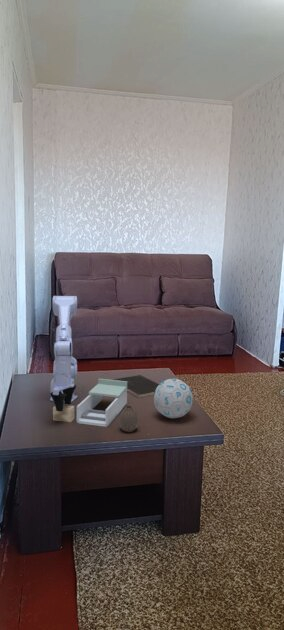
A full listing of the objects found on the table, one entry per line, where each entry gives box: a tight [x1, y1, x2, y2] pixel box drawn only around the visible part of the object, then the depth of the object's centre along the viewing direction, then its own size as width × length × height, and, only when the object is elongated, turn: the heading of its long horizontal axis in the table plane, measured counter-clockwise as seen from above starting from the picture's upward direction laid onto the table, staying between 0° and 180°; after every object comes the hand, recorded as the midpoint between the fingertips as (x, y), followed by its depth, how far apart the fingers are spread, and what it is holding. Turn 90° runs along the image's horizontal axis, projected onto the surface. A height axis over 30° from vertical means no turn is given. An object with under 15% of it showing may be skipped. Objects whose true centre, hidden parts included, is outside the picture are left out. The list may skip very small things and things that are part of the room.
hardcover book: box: [112, 374, 160, 398], centre depth 215 cm, size 16×23×2 cm
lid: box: [88, 378, 127, 398], centre depth 188 cm, size 12×12×3 cm
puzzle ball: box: [153, 378, 194, 419], centre depth 180 cm, size 15×15×15 cm
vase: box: [118, 405, 139, 433], centre depth 167 cm, size 7×7×9 cm
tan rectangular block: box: [52, 404, 75, 423], centre depth 176 cm, size 7×4×5 cm, turn 76°
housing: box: [76, 389, 128, 428], centre depth 183 cm, size 12×26×6 cm, turn 166°
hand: (63, 407), depth 175 cm, fingers open, 7 cm apart
